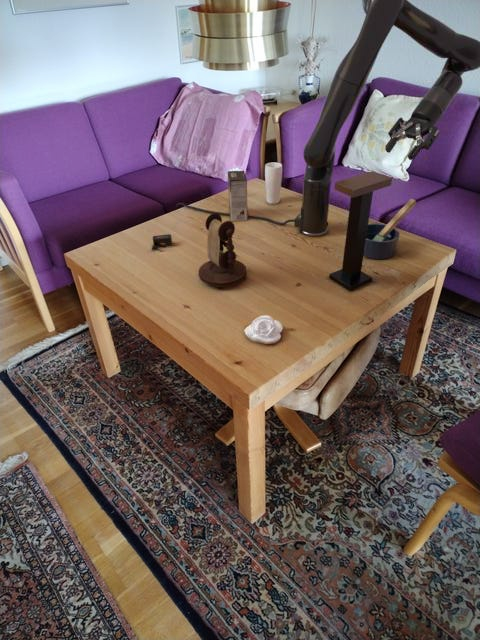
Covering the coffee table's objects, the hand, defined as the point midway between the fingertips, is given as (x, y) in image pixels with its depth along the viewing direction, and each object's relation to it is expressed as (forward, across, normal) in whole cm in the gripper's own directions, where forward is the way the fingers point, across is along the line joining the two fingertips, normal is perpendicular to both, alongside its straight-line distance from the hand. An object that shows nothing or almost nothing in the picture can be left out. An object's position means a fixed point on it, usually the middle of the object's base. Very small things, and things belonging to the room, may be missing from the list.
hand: (397, 154), depth 140 cm
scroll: (+60, -15, -16) cm, 64 cm away
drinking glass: (+26, -52, +18) cm, 61 cm away
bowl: (+24, 0, +20) cm, 31 cm away
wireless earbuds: (+64, -45, -20) cm, 81 cm away
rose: (+64, +14, -20) cm, 69 cm away
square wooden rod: (+15, 0, +20) cm, 25 cm away
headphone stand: (+38, +8, +6) cm, 39 cm away
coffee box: (+40, -50, +5) cm, 64 cm away
